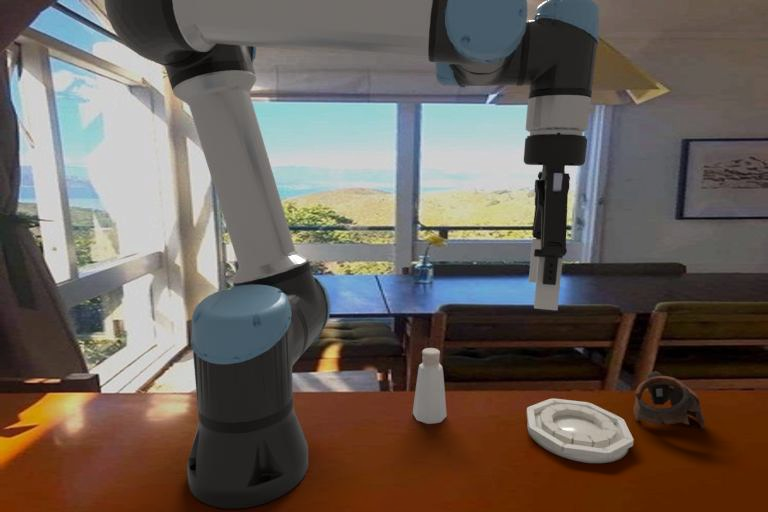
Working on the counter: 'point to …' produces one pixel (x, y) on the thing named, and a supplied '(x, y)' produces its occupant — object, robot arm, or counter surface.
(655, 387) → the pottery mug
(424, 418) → the pepper shaker
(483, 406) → the counter surface
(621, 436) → the dish
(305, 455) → the robot arm
